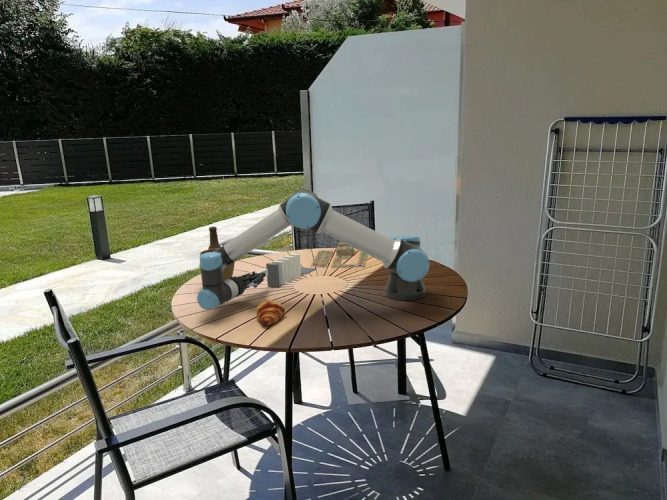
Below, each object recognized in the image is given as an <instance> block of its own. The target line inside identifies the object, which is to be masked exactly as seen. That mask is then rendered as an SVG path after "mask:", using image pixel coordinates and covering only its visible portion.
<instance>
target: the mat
mask: <svg viewBox="0 0 667 500" xmlns="http://www.w3.org/2000/svg"><path fill="white" fill-rule="evenodd" d="M315 270H317V267H303V266H301V275H308V274H310V273H312V272H314V271H315Z"/></svg>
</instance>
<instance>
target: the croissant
mask: <svg viewBox="0 0 667 500" xmlns="http://www.w3.org/2000/svg"><path fill="white" fill-rule="evenodd" d="M285 312H286V309H285V307H284V306H283V304H282V303H279V302H278V301H275V300H270V299H269V300H264V301H263V302H261V303H259V304H258V305H257V307H256V310H255V313H256V317H257V320H258V321H259V322H260V323H261V324H262V325H264V326H270V325H274V324H276V323H277V322H278V321H280V320H281V319H282V317H283V316H284V315H285Z"/></svg>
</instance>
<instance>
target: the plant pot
mask: <svg viewBox="0 0 667 500" xmlns="http://www.w3.org/2000/svg"><path fill="white" fill-rule="evenodd" d="M216 249H219V248H215V249H209V250H208V249H205V250H202V251H200V252H199V257H200V256H201V255H202V254H204V253H208V252H213V251H214V250H216ZM235 262H236V261H235ZM235 262H234V263H232V264H231V265H229V266H228V267H226V268H225V270H224V271H223V281H224V280H227V279H229V278H231V277H233V275H234V270H235V269H234V268H235Z"/></svg>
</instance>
